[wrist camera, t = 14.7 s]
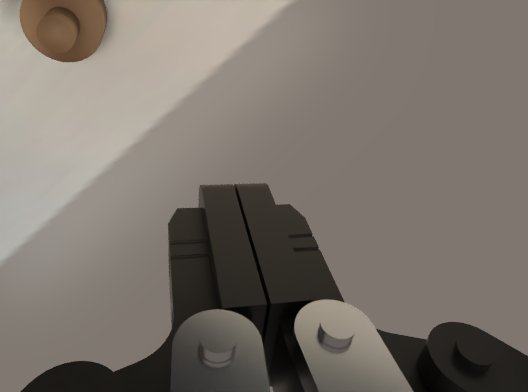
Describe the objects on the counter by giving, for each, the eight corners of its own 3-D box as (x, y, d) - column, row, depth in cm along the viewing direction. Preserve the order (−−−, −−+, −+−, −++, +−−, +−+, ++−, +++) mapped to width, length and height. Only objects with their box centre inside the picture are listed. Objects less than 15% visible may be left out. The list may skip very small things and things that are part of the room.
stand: (103, -24, 35) (94, -6, 29) (109, 48, 38) (102, 76, 32) (25, -30, 33) (0, -13, 28) (38, 45, 36) (18, 74, 31)
